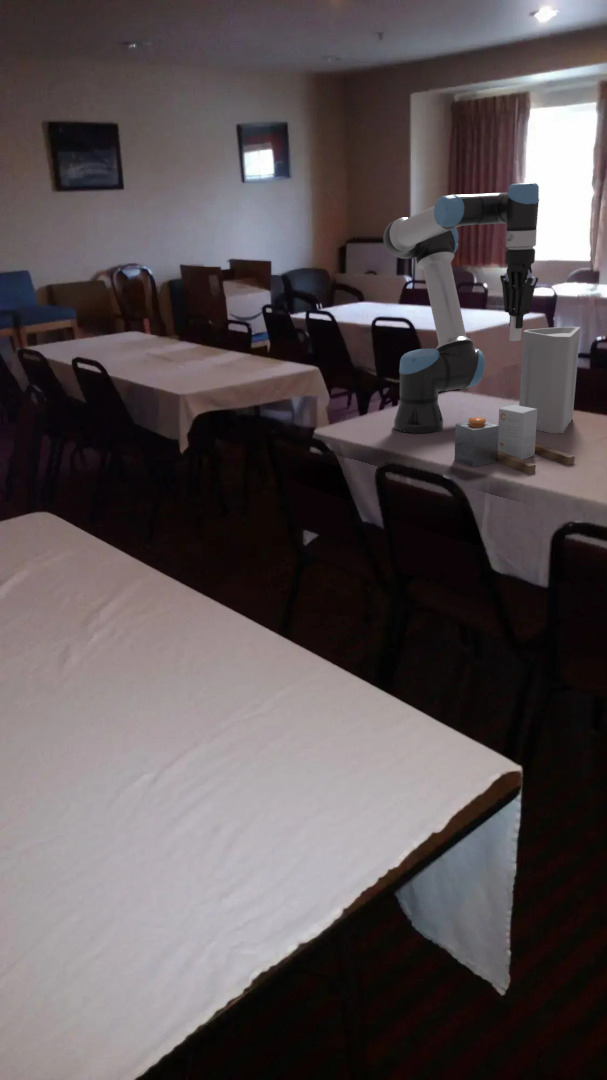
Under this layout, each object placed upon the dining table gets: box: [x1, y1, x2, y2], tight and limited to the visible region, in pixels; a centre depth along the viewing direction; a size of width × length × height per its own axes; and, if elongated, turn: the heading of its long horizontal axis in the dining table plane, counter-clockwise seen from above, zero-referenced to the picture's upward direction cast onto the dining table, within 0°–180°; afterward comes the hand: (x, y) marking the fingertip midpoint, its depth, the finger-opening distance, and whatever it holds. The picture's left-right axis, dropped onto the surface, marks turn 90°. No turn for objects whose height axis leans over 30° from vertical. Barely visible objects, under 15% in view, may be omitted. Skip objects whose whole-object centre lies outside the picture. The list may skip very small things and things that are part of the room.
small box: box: [497, 404, 537, 460], centre depth 216 cm, size 8×6×13 cm
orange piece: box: [468, 416, 487, 427], centre depth 212 cm, size 4×4×7 cm
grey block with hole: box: [454, 421, 499, 468], centre depth 214 cm, size 8×8×10 cm
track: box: [497, 442, 575, 474], centre depth 215 cm, size 20×15×2 cm
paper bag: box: [518, 326, 581, 434], centre depth 242 cm, size 19×15×28 cm
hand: (515, 340), depth 217 cm, fingers closed
